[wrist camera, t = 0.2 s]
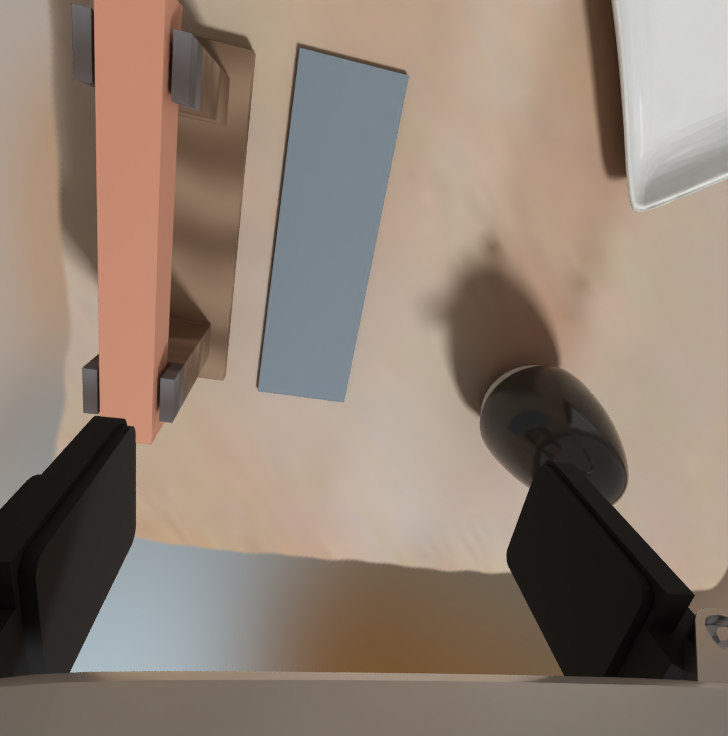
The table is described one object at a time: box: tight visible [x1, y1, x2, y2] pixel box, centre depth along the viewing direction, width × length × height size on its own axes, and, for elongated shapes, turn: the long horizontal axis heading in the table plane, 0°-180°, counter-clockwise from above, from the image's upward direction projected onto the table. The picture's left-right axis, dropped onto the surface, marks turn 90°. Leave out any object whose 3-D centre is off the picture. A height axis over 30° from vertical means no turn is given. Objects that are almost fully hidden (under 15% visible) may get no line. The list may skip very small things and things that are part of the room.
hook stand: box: [72, 3, 255, 423], centre depth 31 cm, size 25×8×13 cm, turn 169°
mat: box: [258, 48, 409, 402], centre depth 38 cm, size 27×8×1 cm, turn 169°
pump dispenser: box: [480, 365, 629, 506], centre depth 39 cm, size 10×10×15 cm
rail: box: [94, 0, 183, 444], centre depth 26 cm, size 24×3×3 cm, turn 169°
